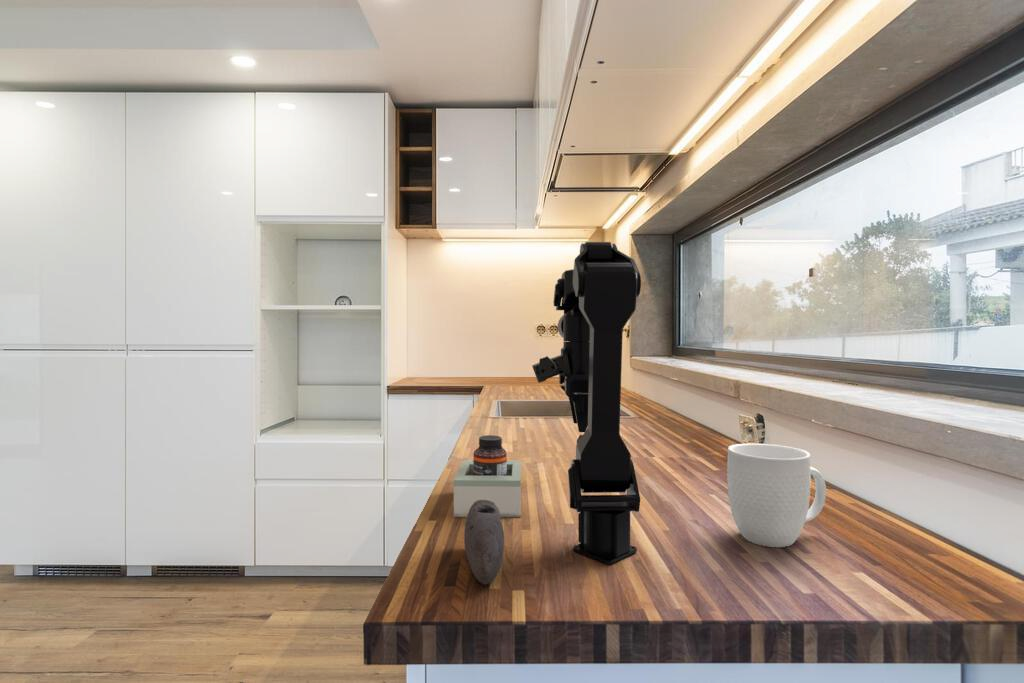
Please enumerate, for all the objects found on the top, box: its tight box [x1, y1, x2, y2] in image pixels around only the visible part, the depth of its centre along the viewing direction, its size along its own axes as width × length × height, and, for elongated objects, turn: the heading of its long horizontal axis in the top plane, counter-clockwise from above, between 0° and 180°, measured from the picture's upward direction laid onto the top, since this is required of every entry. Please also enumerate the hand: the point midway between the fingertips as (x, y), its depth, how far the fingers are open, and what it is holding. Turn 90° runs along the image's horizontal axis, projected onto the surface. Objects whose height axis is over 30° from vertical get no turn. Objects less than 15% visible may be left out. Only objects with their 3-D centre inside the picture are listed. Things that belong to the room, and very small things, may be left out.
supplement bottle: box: [473, 434, 508, 476], centre depth 96 cm, size 6×6×11 cm
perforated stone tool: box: [463, 500, 505, 586], centre depth 70 cm, size 15×5×7 cm, turn 2°
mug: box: [726, 442, 827, 548], centre depth 80 cm, size 15×11×13 cm
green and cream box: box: [453, 460, 522, 518], centre depth 96 cm, size 11×14×6 cm
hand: (579, 427), depth 99 cm, fingers open, 9 cm apart
